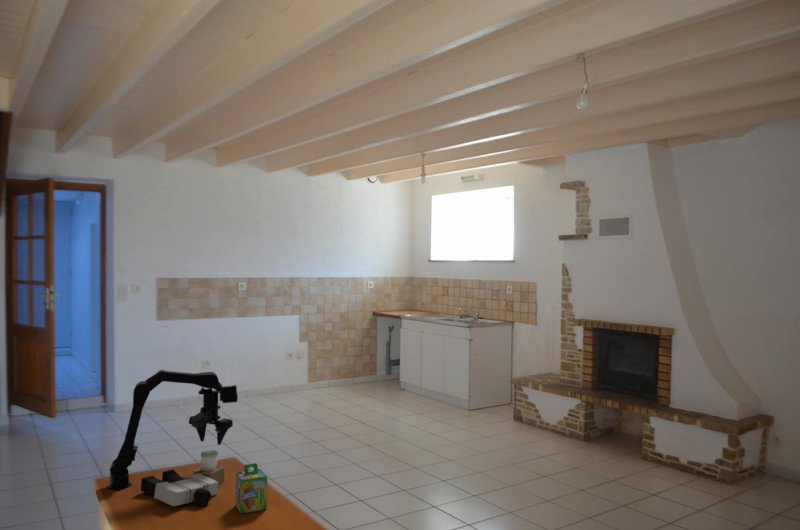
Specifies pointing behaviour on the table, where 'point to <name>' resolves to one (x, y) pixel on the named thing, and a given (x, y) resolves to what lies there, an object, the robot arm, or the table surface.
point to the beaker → (209, 460)
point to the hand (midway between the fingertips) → (210, 443)
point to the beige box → (213, 474)
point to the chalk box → (251, 490)
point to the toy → (180, 488)
